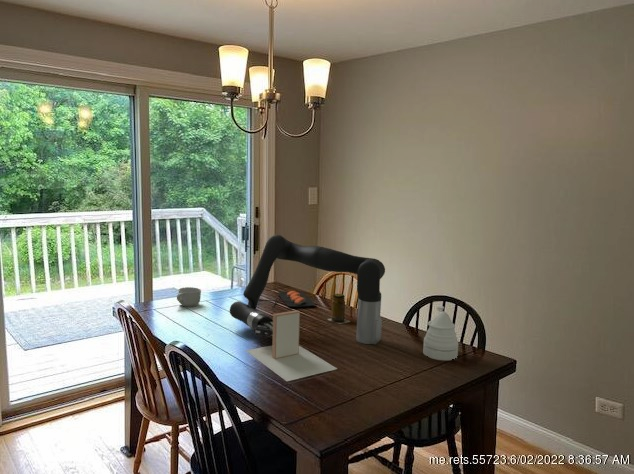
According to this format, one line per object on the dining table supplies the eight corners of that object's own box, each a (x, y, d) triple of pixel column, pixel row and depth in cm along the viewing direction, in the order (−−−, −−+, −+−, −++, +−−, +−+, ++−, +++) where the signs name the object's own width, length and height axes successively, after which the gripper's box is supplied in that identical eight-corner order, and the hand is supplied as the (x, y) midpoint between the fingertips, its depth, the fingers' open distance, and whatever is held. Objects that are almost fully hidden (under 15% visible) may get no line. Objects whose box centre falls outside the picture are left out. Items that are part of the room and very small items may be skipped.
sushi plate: (316, 308, 239) (317, 301, 238) (257, 311, 231) (257, 304, 230) (302, 294, 267) (302, 287, 266) (248, 296, 258) (248, 289, 258)
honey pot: (416, 349, 186) (419, 304, 184) (443, 346, 191) (446, 302, 189) (436, 362, 175) (440, 314, 172) (464, 358, 180) (468, 311, 177)
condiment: (338, 317, 225) (339, 292, 223) (351, 321, 218) (352, 296, 217) (326, 319, 220) (327, 294, 219) (339, 324, 214) (340, 298, 212)
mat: (245, 353, 177) (245, 350, 177) (292, 343, 188) (292, 341, 188) (286, 384, 152) (286, 381, 152) (337, 371, 163) (337, 368, 163)
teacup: (191, 301, 243) (191, 285, 242) (205, 305, 237) (205, 289, 236) (168, 306, 232) (168, 290, 231) (182, 311, 225) (182, 294, 224)
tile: (272, 357, 171) (273, 314, 169) (296, 352, 177) (297, 310, 174) (274, 359, 169) (275, 315, 167) (298, 354, 175) (300, 311, 173)
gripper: (244, 315, 185) (265, 328, 171) (274, 311, 192) (297, 323, 178) (244, 334, 186) (265, 348, 172) (274, 329, 193) (296, 342, 179)
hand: (281, 335), depth 175 cm, fingers closed
